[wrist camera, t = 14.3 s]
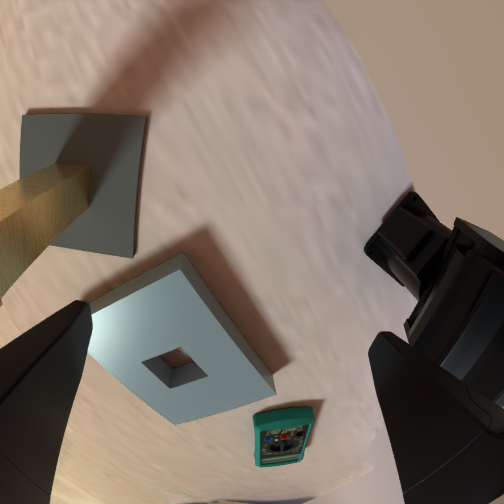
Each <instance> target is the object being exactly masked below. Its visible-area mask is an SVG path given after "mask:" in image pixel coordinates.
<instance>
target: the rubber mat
mask: <svg viewBox="0 0 504 504" xmlns="http://www.w3.org/2000/svg"><path fill="white" fill-rule="evenodd" d="M146 122H147V117H140V116H126V115H109V114H73V113H63V114H28V115H22V125H21V140H20V179H21V178H24V177H26V176H28V175H30V174H32V173H34V172H36V171H38V170H40V169H42V168H45V167H47V166H49V165H51V164H54V163H64V164H76V165H87V166H91V174H90V192H89V208H88V209H87V210H86V211H85V212H84V213H82V214H81V215H80V216H79V217H78V218H77V219H76V220H75V221H74V222H73V223H72V224H71V225H69V226H68V227H67V228H66V229H65V230H64V231H63V232H62V233H61V234H60V235H59V236H58V237H57V238H56V239H55V240H54V241H53V242H52V243H51V244H50V245H52V246H58V247H64V248H70V249H76V250H82V251H89V252H95V253H101V254H107V255H114V256H120V257H127V258H133V257H134V248H135V225H136V209H137V196H138V185H139V175H140V166H141V157H142V149H143V142H144V135H145V128H146Z"/></svg>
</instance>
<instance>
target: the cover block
mask: <svg viewBox="0 0 504 504" xmlns="http://www.w3.org/2000/svg"><path fill="white" fill-rule="evenodd" d="M89 304H90V307H91V315H92V322H93V331H92V335H91V339H90V343H89V347H88V351H87V352H88V353H89V354H90V355H91V356H92V357H93V358H94V359H95V360H96V361H98V362H99V363H100V364H101V365H102V366H103V367H104V368H105V369H106V370H107V371H108V372H109V373H110V374H112V375H113V376H114V377H115V378H116V379H117V380H118V381H119V382H121V383H122V384H123V385H124V386H125V387H126V388H128V389H129V390H130V391H131V392H132V393H134V394H135V395H136V396H137V397H138V398H140V399H141V400H142V401H143V402H145V403H146V404H147V405H149V406H150V407H151V408H152V409H154V410H155V411H156V412H158V413H159V414H160V415H162V416H163V417H164V418H166V419H167V420H168V421H170V422H171V423H173V424H174V425H177V424H181V423H185V422H189V421H193V420H197V419H201V418H204V417H208V416H211V415H215V414H218V413H222V412H225V411H228V410H232V409H235V408H238V407H241V406H244V405H247V404H250V403H253V402H256V401H259V400H262V399H265V398H267V397H270V396H273V395H276V390H275V385H274V380H273V375H272V374H271V373H270V371H269V370H268V369H267V367H266V366H265V365H264V364H263V362H262V361H261V360H260V358H259V357H258V356H257V354H256V353H255V352H254V350H253V349H252V348H251V346H250V345H249V344H248V342H247V341H246V340H245V338H244V337H243V336H242V334H241V333H240V331H239V330H238V329H237V327H236V326H235V325H234V323H233V322H232V321H231V319H230V318H229V316H228V315H227V314H226V312H225V311H224V309H223V308H222V307H221V305H220V304H219V302H218V301H217V300H216V298H215V297H214V295H213V294H212V292H211V291H210V290H209V288H208V287H207V285H206V284H205V282H204V281H203V280H202V278H201V277H200V275H199V274H198V272H197V271H196V269H195V268H194V266H193V265H192V263H191V262H190V260H189V259H188V257H187V256H186V254H185V253H184V252H182V253H180V254H178V255H176V256H175V257H173V258H171V259H169V260H167V261H165V262H163V263H161V264H159V265H157V266H156V267H154V268H152V269H150V270H148V271H146V272H144V273H142V274H141V275H139V276H137V277H135V278H133V279H131V280H129V281H128V282H126V283H124V284H122V285H120V286H118V287H117V288H115V289H113V290H111V291H109V292H108V293H106V294H104V295H102V296H100V297H98V298H97V299H95V300H93V301H91V302H90V303H89ZM179 347H181V348H182V349H183V350H184V351H185V352H186V353H187V354H188V355H189V356H190V357H191V358H192V359H193V360H194V361H193V362H191V363H188V364H185V365H182V366H180V367H177V368H174V369H171V368H170V367H169V366H168V365H167V364H166V363H165V362H164V361H163V360H162V359H161V358H160V357H159V356H158V355H161V354H164V353H166V352H169V351H171V350H174V349H177V348H179Z"/></svg>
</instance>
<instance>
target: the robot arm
mask: <svg viewBox="0 0 504 504" xmlns="http://www.w3.org/2000/svg"><path fill="white" fill-rule="evenodd" d="M413 196H414V199H413V200H412V198H413ZM371 248H372V250H371V251H370V252H369V249H371ZM364 252H365V254H366V255H367V256H368V257H369V258H370V259H372V260H373V261H374V262H375V263H376V264H377V265H379V266H380V267H381V268H382V269H383V270H384V271H386V272H387V273H388V274H389V275H390V276H391V277H392V278H394V279H395V280H396V281H397V282H398V283H399V284H400V285H401V286H405V287H406V288H407V289H408V290H409V291H410V292H411V293H412V295H413V296H414V297H415V298H416V299H417V300H418V303H417V305H416V307H415V308H414V310H413V312H412V314H411V315H410V317H409V319H407V320H406V322H405V323H404V328H405V332H406V335H407V338H408V342H409V344H408V343H406V342H405V341H404V340H402V339H401V338H399V337H398V336H396V335H395V334H393V333H392V332H389V331H381V332H379V333H378V334H377V336H376V338H375V339H374V341H373V343H372V345H371V346H370V348H369V351H368V357H369V361H370V366H371V371H372V375H373V380H374V385H375V390H376V394H377V398H378V401H379V404H380V408H381V411H382V414H383V418H384V421H385V425H386V428H387V432H388V436H389V439H390V443H391V447H392V451H393V455H394V458H395V462H396V466H397V471H398V474H399V479H400V483H401V488H402V492H403V493H404V494H403V498H404V502H405V504H504V409H503V408H502V407H504V241H503V240H502V239H500V238H498V237H497V236H495V235H494V234H492V233H490V232H489V231H487V230H484V229H482V228H480V227H478V226H476V225H474V224H471V223H469V222H467V221H464V220H462V219H460V218H458V217H456V219H455V222H454V228H453V230H450V229H449V228H447V227H446V226H444V225H443V224H442V223H440V222H439V220H438V219H437V218H436V216H435V215H434V214H433V212H432V211H431V210H430V208H429V207H428V206H427V205H426V203H425V202H424V201H423V200H422V198H421V197H420V196H419V195H418V194H417V193H416V192H414V191H411V192H410V193H408V195H407V196H406V197H405V199H404V200H403V201H402V202H401V204H400V205H399V206H398V207H397V208H396V210H395V211H394V212H393V213H392V215H391V216H390V217H389V218H388V219H387V221H386V222H385V223H384V224H383V225H382V227H381V228H380V229H379V230H378V232H377V233H376V234H375V235H374V236H373V238H372V239H371V240H370V241H369V242H368V243H367V245H366V246H365V247H364ZM92 331H93V322H92V315H91V307H90V304H89V303H88V302H85V301H80V300H75V301H73V302H72V303H70V304H69V305H67V306H65V307H64V308H62V309H61V310H59V311H57V312H56V313H54V314H53V315H51V316H49V317H48V318H46V319H45V320H43V321H42V322H40V323H39V324H37V325H35V326H34V327H32V328H31V329H29V330H28V331H26V332H25V333H23V334H22V335H20V336H19V337H17V338H16V339H14V340H13V341H11V342H10V343H8V344H7V345H5V346H4V347H2V348H1V349H0V504H50V498H51V497H50V495H51V491H52V486H53V480H54V475H55V471H56V466H57V462H58V457H59V453H60V449H61V445H62V441H63V437H64V433H65V429H66V426H67V422H68V419H69V415H70V412H71V408H72V405H73V402H74V399H75V396H76V392H77V389H78V386H79V383H80V380H81V377H82V373H83V369H84V364H85V360H86V356H87V351H88V347H89V343H90V339H91V335H92Z"/></svg>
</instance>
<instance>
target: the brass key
mask: <svg viewBox="0 0 504 504" xmlns="http://www.w3.org/2000/svg"><path fill="white" fill-rule="evenodd" d="M90 174H91V166H87V165H76V164H64V163H54V164H51V165H49V166H47V167H45V168H42V169H40V170H38V171H36V172H34V173H32V174H30V175H28V176H26V177H24V178H21V179H19V180H17V181H16V182H14V183H12V184H10V185H8V186H6V187H4V188H2V189H0V307H1V306H2V301H1V298H2V297H3V296H4V294H5V293H6V292H7V291H8V290H9V288H10V287H11V286H12V285H13V284H14V283H15V281H16V280H17V279H18V278H19V277H20V276H21V275H22V274H23V272H24V271H25V270H26V269H27V268H28V267H29V266H30V265H31V264H32V263H33V262H34V260H35V259H36V258H37V257H38V256H39V255H40V254H41V253H42V252H43V251H44V250H45V249H46V248H47V247H48V246H49V245H50V244H51V243H52V242H53V241H54V240H55V239H56V238H57V237H58V236H59V235H60V234H61V233H62V232H63V231H64V230H65V229H66V228H67V227H68V226H69V225H71V224H72V223H73V222H74V221H75V220H76V219H77V218H78V217H79V216H80V215H81V214H82V213H84V212H85V211H86V210H87V209H88V208H89V192H90Z"/></svg>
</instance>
